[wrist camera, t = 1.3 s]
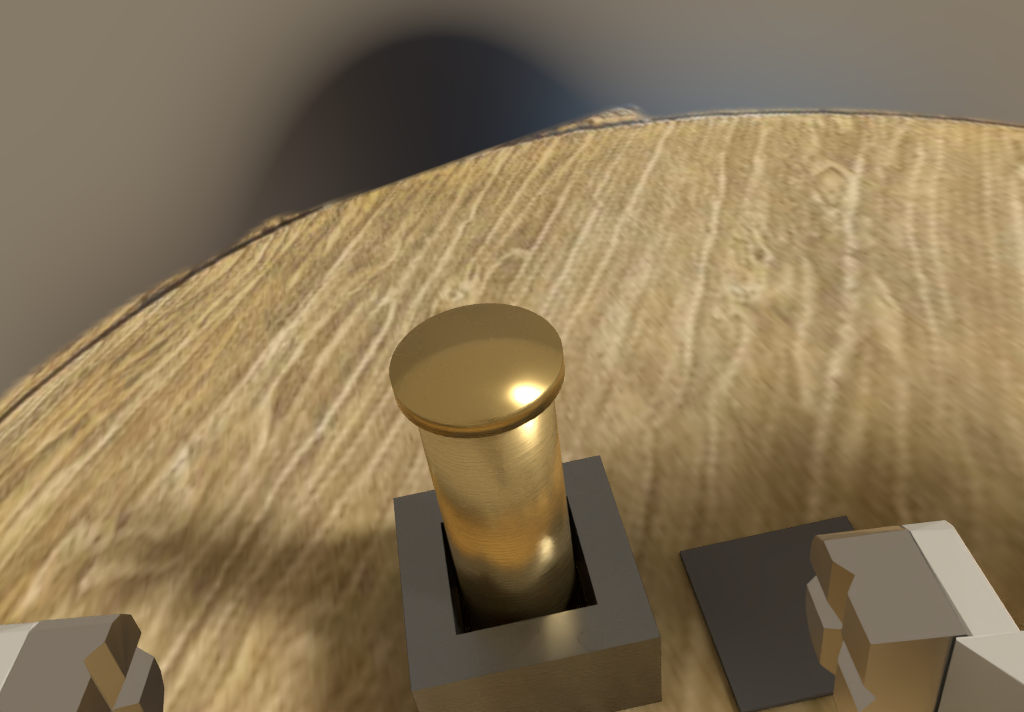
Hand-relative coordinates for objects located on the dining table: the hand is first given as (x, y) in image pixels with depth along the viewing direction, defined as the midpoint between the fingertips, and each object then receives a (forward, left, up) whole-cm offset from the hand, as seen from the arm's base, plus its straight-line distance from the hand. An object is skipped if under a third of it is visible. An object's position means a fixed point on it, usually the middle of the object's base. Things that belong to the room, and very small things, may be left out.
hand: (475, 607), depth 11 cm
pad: (-15, -20, -35) cm, 43 cm away
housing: (-1, -22, -35) cm, 42 cm away
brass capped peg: (-1, -22, -35) cm, 42 cm away
